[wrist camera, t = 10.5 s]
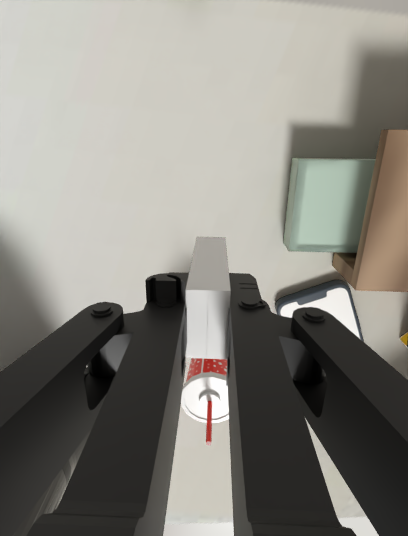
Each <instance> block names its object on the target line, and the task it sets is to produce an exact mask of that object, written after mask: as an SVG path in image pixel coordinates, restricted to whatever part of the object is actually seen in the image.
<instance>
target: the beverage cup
mask: <svg viewBox="0 0 408 536" xmlns="http://www.w3.org/2000/svg"><path fill="white" fill-rule="evenodd" d="M226 375H227V359H202V358H191V362H190V367H189V371H188V376H187V380H186V383H185V384H184V387H183V389H182V397H181V405H182V408H183V409H184V411H185V412H186V413H187V415H189V416H190V417H192V418H193V419H195V420H197V421H200V422H204V423H207V429H206V445H211V432H212V423H219V422H221V421H224V420H227V419H229V407H228V386H226Z"/></svg>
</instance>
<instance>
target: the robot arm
mask: <svg viewBox="0 0 408 536" xmlns="http://www.w3.org/2000/svg"><path fill="white" fill-rule="evenodd" d="M146 298H147V303H146V305H145V307H144V310H142V311H139V312H134V313H127V314H123V308H122V307H121V306H120V305H119V304H116V303H108V302H100V303H96V304H94V305H91V306H89V307H87V308H85V309H84V310H82V311H81V312H80V313H78V314H77V315H76V316H74V317H73V318H72V319H70V320H69V321H68V322H66V323H65V324H64V325H62V326H61V327H60V328H58V329H57V330H56V331H54V332H53V333H52V334H50V335H49V336H48V337H46V338H45V339H44V340H43V341H41V342H40V343H39V344H37V345H36V346H35V347H33V348H32V349H31V350H29V351H28V352H27V353H25V354H24V355H23V356H21V357H20V358H19V359H17V360H16V361H15V362H13V363H12V364H11V365H9V366H8V367H7V368H5V369H4V370H3V371H2V372H0V536H163V531H164V524H165V516H166V509H167V501H168V494H169V486H170V479H171V471H172V464H173V457H174V449H175V442H176V434H177V427H178V419H179V412H180V404H181V397H182V389H183V382H184V374H185V367H186V366H185V354H186V358H202V359H227V375H226V386H228V407H229V430H230V453H231V476H232V499H233V522H234V536H356V534H355V533H354V532H353V531H352V529H350V528H346V527H342V525H341V524H340V522H339V521H338V518H337V516H336V513H335V510H334V507H333V504H332V501H331V498H330V495H329V492H328V489H327V486H326V482H325V479H324V476H323V473H322V470H321V467H320V464H319V461H318V457H317V454H316V451H315V448H314V445H313V442H312V439H311V436H310V432H309V429H308V426H307V423H306V420H307V421H308V423H309V424H310V426H311V428H312V429H313V431H314V432H315V434H316V436H317V437H318V439H319V440H320V442H321V444H322V445H323V447H324V448H325V450H326V452H327V453H328V455H329V456H330V458H331V460H332V461H333V463H334V464H335V466H336V468H337V469H338V471H339V472H340V474H341V476H342V477H343V479H344V480H345V482H346V484H347V485H348V487H349V488H350V490H351V492H352V493H353V495H354V496H355V498H356V500H357V501H358V503H359V504H360V506H361V508H362V509H363V511H364V512H365V514H366V515H367V517H368V519H369V520H370V522H371V523H372V525H373V527H374V528H375V530H376V531H377V533H378V534H379V536H408V380H407V379H406V378H405V377H403V376H402V375H401V374H400V373H399V372H398V371H396V370H395V369H394V368H393V367H392V366H391V365H390V364H388V363H387V362H386V361H385V360H384V359H383V358H381V357H380V356H379V355H378V354H377V353H376V352H374V351H373V350H372V349H371V348H370V347H369V346H368V345H366V344H365V343H364V342H363V341H362V340H361V339H359V338H358V337H357V336H356V335H355V334H354V333H353V332H351V331H350V330H349V329H348V328H347V327H346V326H344V325H343V324H342V323H341V322H340V321H339V320H337V319H336V318H335V317H334V316H333V315H331V314H330V313H328V312H327V311H324V310H321V309H320V308H316V307H315V308H314V307H302V308H298V309H296V310H294V311H293V314H292V318H289V317H284V316H280V315H276V314H274V313H272V312H271V311H270V308H269V305H268V304H267V302H265V301H263V300H262V299H261V296H260V292H259V289H258V285H257V282H256V278H254V277H253V276H252V275H250V274H239V273H229V269H228V259H227V249H226V239H225V237H197V238H196V243H195V247H194V252H193V257H192V262H191V266H190V271H189V273H165V274H157V275H153V276H150V277H148V278H147V279H146ZM87 365H88V367H87V368H86V366H87ZM304 416H305V417H304ZM305 418H306V420H305ZM71 475H72V476H71ZM70 477H71V478H70ZM69 479H70V480H69ZM68 482H69V483H68ZM67 484H68V485H67ZM66 486H67V487H66ZM65 488H66V490H65ZM64 491H65V492H64ZM63 493H64V494H63ZM62 495H63V496H62ZM61 498H62V499H61ZM60 500H61V501H60ZM59 502H60V503H59Z"/></svg>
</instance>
